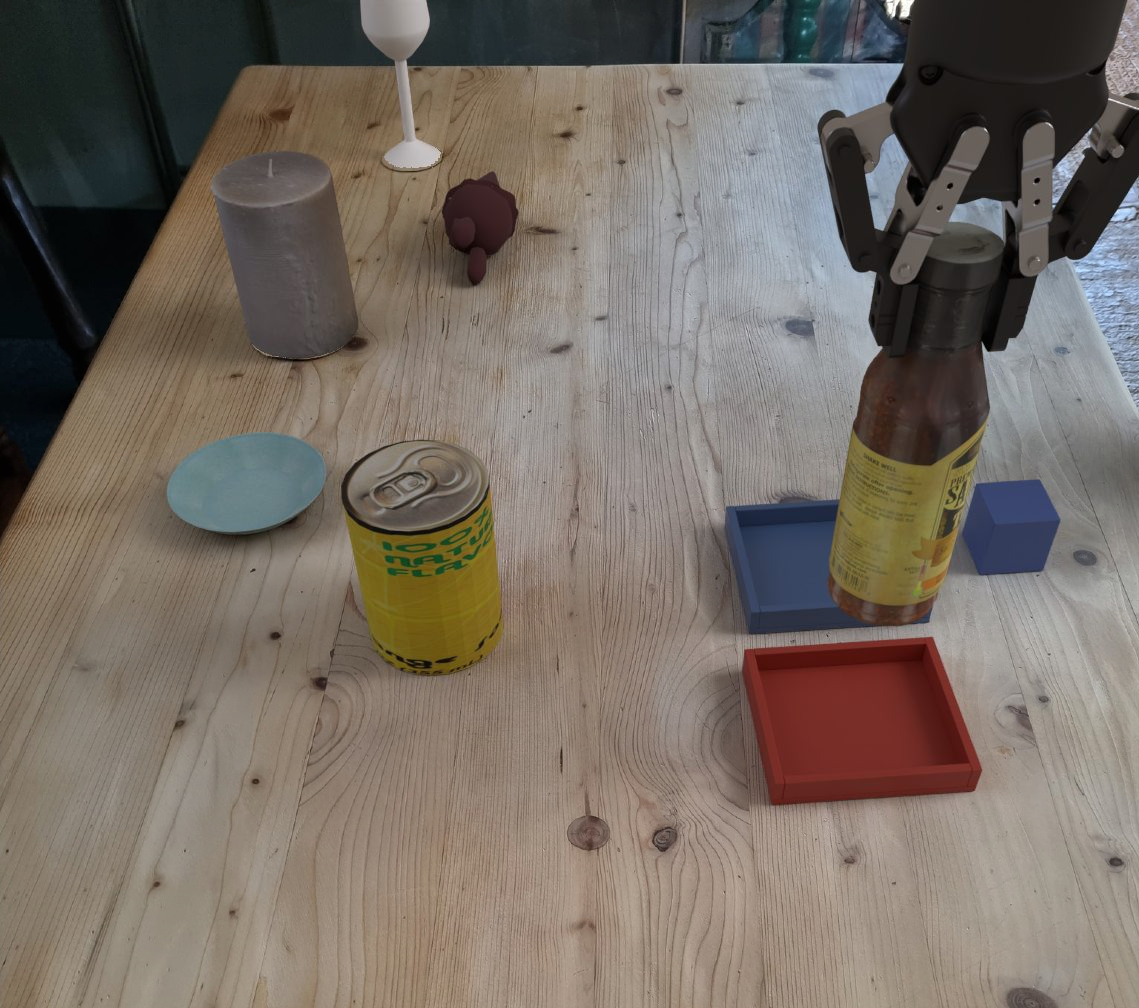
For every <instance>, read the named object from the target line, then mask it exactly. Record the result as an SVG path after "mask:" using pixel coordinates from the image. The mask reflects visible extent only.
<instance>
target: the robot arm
mask: <svg viewBox="0 0 1139 1008" xmlns="http://www.w3.org/2000/svg"><path fill="white" fill-rule="evenodd" d="M1127 4H1128V0H913V5H912V11H911V17H910V23H909V28H908V29H909V30H908V35H907V41H906V42H907V43H906V50H905V55H904V56H905V57H904V62H903V64H902V67H901V69H900V71H899V74H898V75H897V77H896V78H895V80H894V81H893V82H892V84H891V86H890V88H889V90H888V91H887V93H886V97H885V101H884V102H882V103H879V104H877V105H874V106H871V107H869V108H866V109H864V110H861V111H859V112H856V113H853V114H851V115H849V116H846V114H845V113H844V112H843V111H842V110H840V109H830V110H828V111H826V112H825V113H823V114H822V116H821V117H820V118H819V120H818V122H817V134H818V140H819V143H820V144H819V145H820V149H821V154H822V159H823V164H824V170H825V173H826V179H827V184H828V189H829V195H830V199H831V204H832V209H833V214H834V219H835V223H836V224H835V225H836V228H837V234H838V237H839V241H840V243H841V245H842V247H843V250H844V252H845V254H846V257H847V259H848V261H849V263H850V266H851V268H852V269H853V270H854V272H857V273H860V274H864V273H868V272H873V273H875V278H874V285H873V289H872V296H871V301H870V309H869V312H868V318H867V321H868V325H869V328H870V331H871V334H872V336H873V339H874V341H875V344H876V346H877V347H881V349H882V348H883V351H884V353H885V355H886V357H887V358H898V357H904V355H905V352H906V347H907V342H908V337H909V332H910V327H911V322H912V317H913V312H914V307H915V302H916V297H917V292H918V287H919V283H918V281H917V279H916V275H917V274H918V272H919V269H920V267H921V265H922V263H923V261H924V259H925V257H926V255H927V253H928V251H929V248H930V246H931V244H932V242H933V240H934V238H935V237H937V236H940V235H941V234H942V233H943V231H944V229H945V227H946V225H947V223H948V222H950V219H951V217H952V215H953V213H954V211H955V209H956V206H957V205H964V204H968V203H972V202H975V201H978V200H981V199H988V200H991V201H995V202H1000V203H1001V219H1002V220H1001V223H1002V224H1001V225H1002V240H1003V242H1004V245H1005V251H1004V256H1003V261H1002V265H1001V272H1000V275H999V277H998V279H997V281H996V282H995V283H994V284H993V286H992V289H991V295H990V300H989V303H988V305H987V310H986V314H985V318H984V322H983V333H982V336H981V338H982V346H983V347H984V349H985V350H986V352H987V353H996V352H997V353H998V352H1005V351H1006V350H1007V348H1008V345H1009V344H1008V343H1009V340H1010V339H1016V338H1017V337H1018V336H1019V334H1020V333H1021V332H1022V330H1024V326H1025V323H1026V319H1027V316H1028V311H1029V307H1030V305H1031V301H1032V299H1033V298H1032V297H1033V294H1034V290H1035V287H1036V283H1037V279H1038V277H1039V274H1041V273H1042V272H1043V271H1044V270H1045V269H1046V267H1047V266H1048V265H1049V264H1051V263H1053V262H1055V261H1059V260H1061V259H1063V258H1067V259H1069V260H1071V261H1079V260H1082V259H1084V258H1085V257H1087V256H1088V255H1089V254H1090V253H1091V252H1092V250H1093V249H1094V247H1095V246H1096V244H1097V243H1098V241H1099V240H1100V238H1101V237H1102V235H1103V233H1104V232H1105V230H1106V228H1107V227H1108V225H1109V224H1110V222H1111V220H1112V219H1113V217H1114V216H1115V214H1116V212H1117V211H1118V210H1119V208H1120V206H1121V205H1122V203H1123V202H1124V200H1125V198H1126V197H1127V195H1128V194H1129V192H1130V191H1131V190H1132V187H1133V186H1134V185H1135V183H1136V181H1138V179H1139V92H1134V91H1133V92H1129V93H1126V94H1124V95H1123V96H1122V95H1119V94H1116V93H1113V92H1110V90H1109V85H1108V82H1107V75H1106V69H1107V63H1108V60H1109V58H1110V55H1111V54H1112V52H1113V51H1114V48H1115V46H1116V42H1117V39H1118V35H1119V32H1120V29H1121V25H1122V21H1123V17H1124V14H1125V11H1126V7H1127ZM1090 130H1091V131H1090ZM1089 132H1090V133H1089ZM1088 133H1089V137H1088V143H1089V145H1090V147H1089V149H1088V150H1087V152H1086V154H1085V155H1084V157H1083V159H1082V161H1081V162H1080V163H1079V166H1078V167H1077V169H1076V170H1075V172H1074V174H1073V175H1072V177H1071V178H1070V180H1069V182H1068V184H1067V186H1066V187H1065V189H1064V190H1063V192H1062V194H1061V195H1060V196H1059V199H1058V201H1057V202H1056V204H1055V206H1054V207H1053V197H1054V196H1053V190H1054V189H1053V188H1054V187H1053V183H1054V182H1053V177H1054V175H1053V172H1054V169H1055V168H1056V167H1057V166H1058V164H1059V163H1060V162H1062V160H1064V158H1065V157H1067V155H1068V154H1069V153H1070V152H1071V151H1072V150H1073V149H1074V148H1075V146H1077V144H1079V143H1080V141H1081V140H1082V139H1083V138H1084V137H1086V135H1087V134H1088ZM893 135H894V136H895V138H896V139H897V140H896V141H898V143H899V145H900V147H901V150H902V151H903V153H904V154H905V156H906V158H907V160H908V162H907V164H906V166H905V168H904V171H903V173H902V175H901V177H900V180H899V182H898V184H897V187H896V190H895V194H894V195H895V196H894V205H893V207H892V210H891V211H890V212H891V213H890V214H889V216H888V219H887V221H886V223H885V226H884V228H883V230H882V229H879V228H875V221H874V216H873V210H872V206H871V200H870V194H869V188H868V181H867V177H866V175H867V174H871V173H873V172H874V170H875V169H876V168H877V166H879V163H880V159H881V148H882V146H883V144H884V142H885V141H886V140H887V139H888V138H889V137H891V136H893Z"/></svg>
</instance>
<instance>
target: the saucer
mask: <svg viewBox="0 0 1139 1008" xmlns="http://www.w3.org/2000/svg"><path fill="white" fill-rule="evenodd" d="M326 480H327V465H326V462H325V459H324V457H323V456H322V454H321V453H320V451H318V449H316V448H315V447H314V446H313V445H312V444H310V443H309V442H307V441H305V440H303V439H301V438H298V437H296V436H293V435H290V434H285V433H278V432H267V431H259V432H248V433H241V434H236V435H232V436H227V437H224V438H220V439H218V440H215V441H212V442H210V443H208V444H206V445H204V446H202V447H199V448H198V449H196V450H195V451H193V452H192V453H190V454H189V455H188V456H187V457H185V458H184V459H183V460H182V461H181V462H180V463H179V464H178V465H177V466H176V468H175V469H174V470H173V472H172V473H171V475H170V477H169V479H168V483H167V487H166V499H167V503H168V505H169V507H170V509H171V510H172V512H173V513H174V514H175V515H176V516H177V517H178V518H180V519H181V520H182V521H184V522H186V523H187V524H189V525H191V526H194V527H195V528H199V529H202V530H204V531H208V532H212V533H216V534H217V533H218V534H223V535H235V536H237V535H239V536H240V535H253V534H257V533H258V534H259V533H262V532H266V531H269V530H270V531H271V530H273V529H275V528H278V527H280V526H282V525H284V524H286V523H287V522H289V521H291V520H293V519H294V518H296V517H297V516H298V515H300V514H301V513H302V512H304V511H305V510H306V509H307V508H308V507H309V506H311V504H313V502H314V501H316V499H317V497H318V496H319V495H320V494H321V492H322V490H323V488H324V486H325V483H326Z"/></svg>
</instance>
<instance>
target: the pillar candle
mask: <svg viewBox="0 0 1139 1008" xmlns="http://www.w3.org/2000/svg"><path fill="white" fill-rule="evenodd" d="M209 189H210V191H211V193H212V194H213V197H214V202H215V205H216V211H217V213H218V219H219V223H220V226H221V230H222V235H223V238H224V243H225V246H226V250H227V256H228V259H229V262H230V266H231V270H232V275H233V279H234V283H235V287H236V291H237V295H238V298H239V303H240V308H241V312H242V315H243V320H244V324H245V326H246V332H247V336H248V339H249V341H250V344H251V343H252V344H253V345H254V346H255V347H256V348H257V349H259V350H260V351H262V352H264V353H267V354H270V355H272V356H279V357H284V358H283V359H286V358H292V359H291V360H295V358H296V359H300V358H311V357H315V356H321V355H324V354H327V353H331V352H333V351H336V350H337V349H339V348H341V347H342V346H343V345H346V344H347V343H348V341H350V339H352V338H353V339H354V337H355V336H356V334H357V331H358V328H359V318H358V314H357V307H356V306H357V305H356V301H355V296H354V295H355V294H354V288H353V284H352V279H351V272H350V266H349V260H348V255H347V250H346V245H345V240H344V234H343V228H342V223H341V216H340V210H339V205H338V201H337V195H336V190H335V185H334V178H333V174H332V170H331V167H330V166H329V165H328V163H327V162H326V161H325V160H324V159H322V158H320V157H318V156H315V155H313V154H311V153H307V152H306V153H305V152H301V151H291V150H290V151H289V150H277V151H276V150H275V151H274V150H273V151H263V152H258V153H253V154H249V155H246V156H244V157H240V158H238V159H235V160H233V161H231V162H228V163H226V164H225V165H224V166H223V167H222V168H220V169H219V170H218V171H217V172H216V173H215V175H214V176H213V177H212V181H211V185H210V187H209ZM356 330H357V331H356ZM355 333H356V334H355ZM354 335H355V336H354ZM353 336H354V337H353ZM353 339H352V340H353ZM350 342H351V341H350ZM252 344H251V345H252ZM348 344H349V343H348ZM348 344H347V345H348ZM347 345H346V346H347ZM341 349H342V348H341ZM285 357H286V358H285Z"/></svg>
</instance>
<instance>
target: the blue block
mask: <svg viewBox="0 0 1139 1008" xmlns="http://www.w3.org/2000/svg"><path fill="white" fill-rule="evenodd" d="M1060 523H1061V517H1060V516H1059V513H1058V512H1057V509H1056V508H1055V506H1054V504H1053V502H1052V500H1051V498H1050V496H1049V494H1048V492H1047V491H1046V489H1045V486H1044V484H1043V482H1042V481H1041V479H1040V478H1037V479H1022V480H1021V479H1020V480H1019V479H1018V480H1005V481H989V482H976V483H975V485H974V489H973V494H972V497H971V500H970V503H969V507H968V511H967V514H966V518H965V521H964V525H963V529H962V532H961V535H962V537H963V540H964V542H965V545H966V548H967V549H968V552H969V554H970V557H971V558H972V561H973V563H974V566H975V568H976V570H977V572H978V575H979V576H985V575H986V576H987V575H998V574H999V575H1000V574H1015V573H1032V572H1043V571H1044V569H1045V566H1046V563H1047V560H1048V557H1049V555H1050V552H1051V549H1052V546H1053V543H1054V540H1055V538H1056V535H1057V532H1058V530H1059V526H1060Z"/></svg>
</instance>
